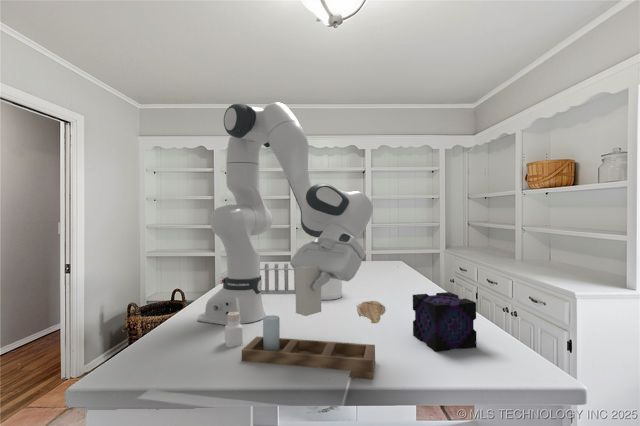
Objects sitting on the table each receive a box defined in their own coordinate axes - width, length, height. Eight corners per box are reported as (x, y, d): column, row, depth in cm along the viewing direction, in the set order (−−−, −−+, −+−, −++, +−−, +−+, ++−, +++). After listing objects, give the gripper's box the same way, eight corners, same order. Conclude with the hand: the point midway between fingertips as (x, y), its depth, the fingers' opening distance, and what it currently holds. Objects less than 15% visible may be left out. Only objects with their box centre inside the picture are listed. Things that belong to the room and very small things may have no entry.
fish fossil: (389, 325, 110) (389, 321, 110) (357, 327, 111) (357, 323, 111) (380, 302, 136) (379, 299, 136) (354, 304, 137) (354, 301, 137)
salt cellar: (260, 357, 82) (260, 320, 82) (266, 350, 86) (266, 315, 86) (276, 358, 81) (276, 321, 81) (282, 352, 85) (281, 315, 85)
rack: (241, 367, 81) (241, 350, 81) (256, 351, 89) (256, 336, 89) (372, 379, 74) (372, 360, 74) (375, 361, 83) (375, 344, 83)
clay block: (295, 312, 81) (295, 266, 81) (311, 308, 85) (311, 264, 85) (305, 316, 79) (304, 268, 79) (321, 311, 82) (320, 265, 82)
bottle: (311, 292, 154) (310, 230, 154) (341, 292, 154) (341, 229, 154) (309, 300, 140) (308, 232, 140) (342, 300, 140) (342, 231, 140)
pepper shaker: (224, 348, 92) (224, 312, 92) (239, 345, 94) (238, 310, 94) (228, 353, 89) (227, 316, 89) (243, 350, 91) (243, 314, 91)
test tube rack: (248, 294, 153) (247, 264, 153) (250, 291, 158) (250, 263, 157) (304, 293, 152) (303, 264, 152) (304, 291, 157) (304, 262, 157)
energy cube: (450, 332, 102) (449, 292, 102) (476, 347, 91) (476, 302, 91) (413, 335, 100) (412, 294, 100) (435, 352, 88) (434, 305, 88)
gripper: (302, 233, 94) (273, 274, 87) (359, 237, 79) (329, 286, 72) (314, 248, 97) (287, 288, 90) (371, 255, 82) (343, 303, 75)
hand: (306, 288), depth 81 cm, fingers closed on clay block, 3 cm apart
